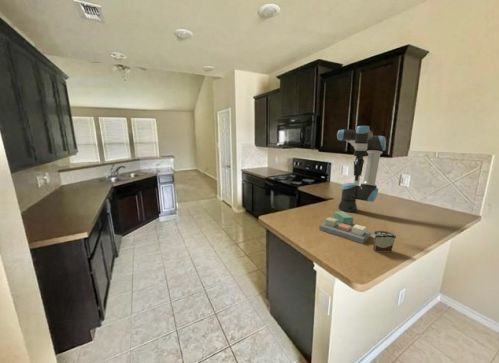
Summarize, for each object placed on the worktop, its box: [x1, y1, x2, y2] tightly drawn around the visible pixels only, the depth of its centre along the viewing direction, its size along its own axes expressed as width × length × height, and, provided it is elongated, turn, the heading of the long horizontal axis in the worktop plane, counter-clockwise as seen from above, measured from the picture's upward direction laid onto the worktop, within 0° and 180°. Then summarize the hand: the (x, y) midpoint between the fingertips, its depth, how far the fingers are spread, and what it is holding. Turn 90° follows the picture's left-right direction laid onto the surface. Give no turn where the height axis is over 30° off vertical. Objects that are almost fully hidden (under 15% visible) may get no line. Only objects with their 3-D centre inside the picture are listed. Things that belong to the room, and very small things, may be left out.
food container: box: [372, 230, 397, 253], centre depth 125 cm, size 12×6×10 cm, turn 92°
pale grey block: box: [352, 224, 367, 236], centre depth 138 cm, size 6×6×4 cm
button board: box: [318, 222, 372, 245], centre depth 145 cm, size 14×28×3 cm, turn 45°
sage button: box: [324, 216, 338, 227], centre depth 151 cm, size 6×6×4 cm
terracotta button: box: [338, 223, 351, 232], centre depth 145 cm, size 6×6×4 cm
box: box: [333, 210, 354, 227], centre depth 160 cm, size 7×14×8 cm, turn 10°
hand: (356, 185), depth 149 cm, fingers closed
